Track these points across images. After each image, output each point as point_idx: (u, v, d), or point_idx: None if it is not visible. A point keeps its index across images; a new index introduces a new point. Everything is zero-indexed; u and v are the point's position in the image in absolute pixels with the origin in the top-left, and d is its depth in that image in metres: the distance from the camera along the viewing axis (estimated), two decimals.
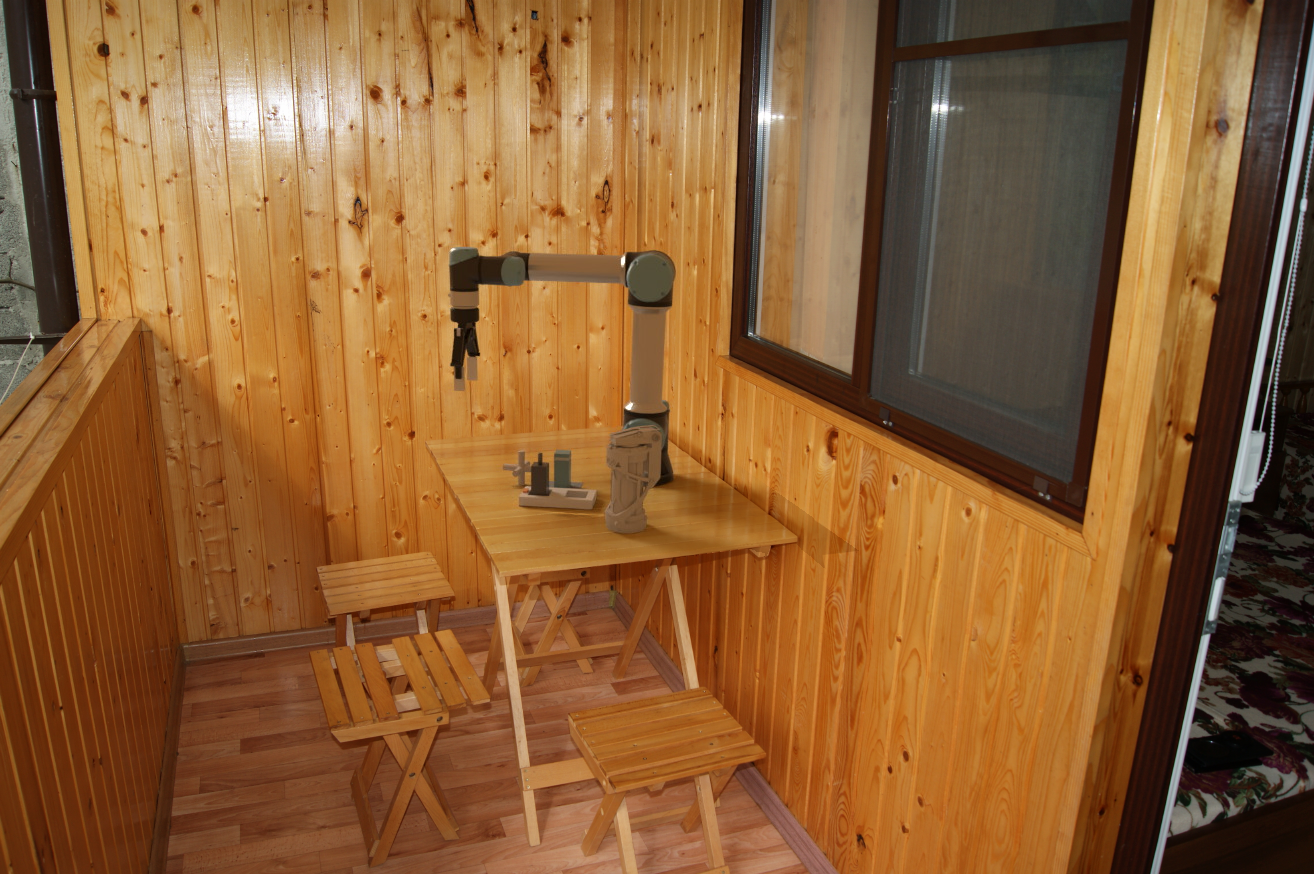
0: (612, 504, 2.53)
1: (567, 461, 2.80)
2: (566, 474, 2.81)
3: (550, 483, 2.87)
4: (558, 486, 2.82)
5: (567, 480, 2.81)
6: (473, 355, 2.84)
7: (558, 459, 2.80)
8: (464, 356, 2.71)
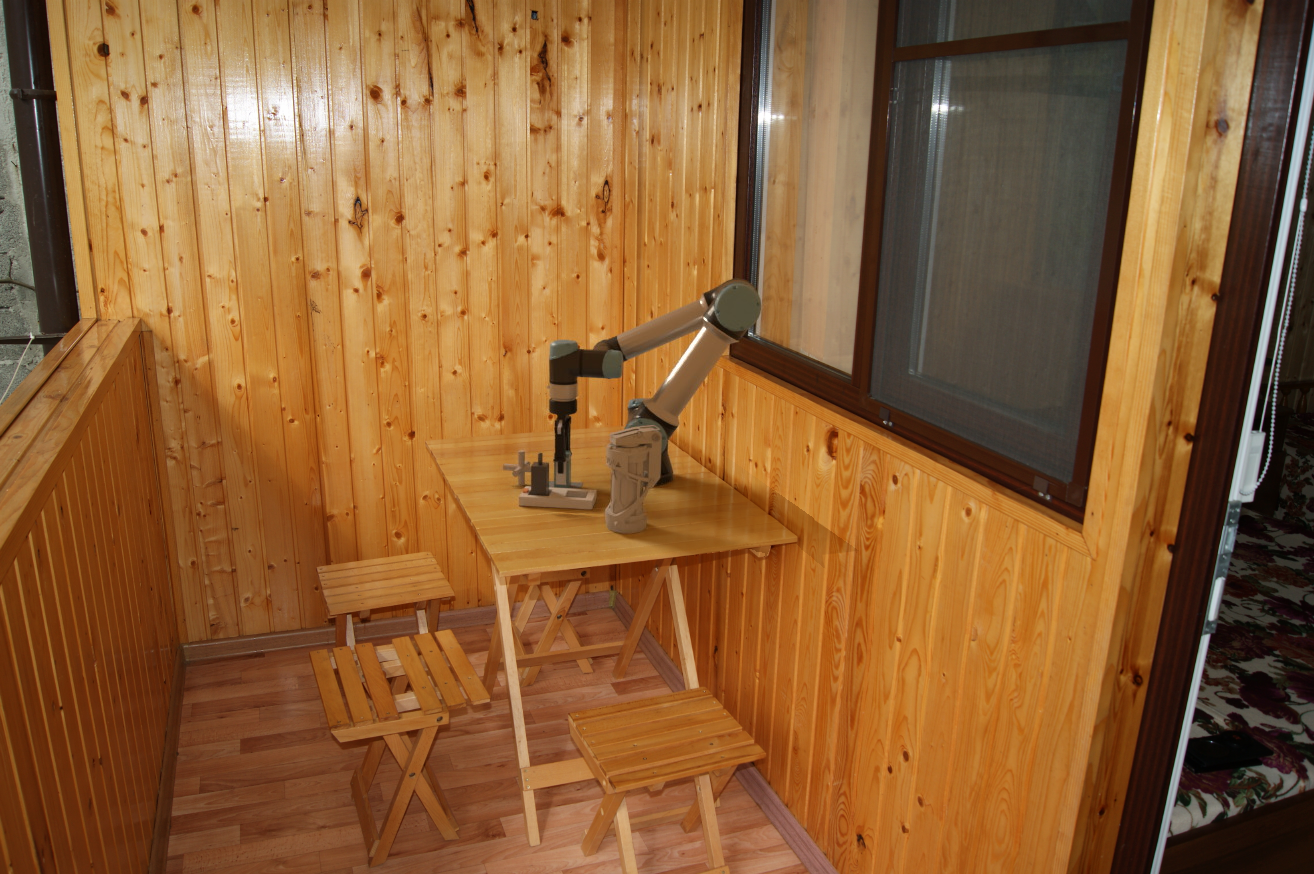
0: (612, 504, 2.53)
1: (567, 461, 2.80)
2: (566, 474, 2.81)
3: (550, 483, 2.87)
4: (558, 486, 2.82)
5: (567, 480, 2.81)
6: None
7: None
8: (565, 450, 2.79)
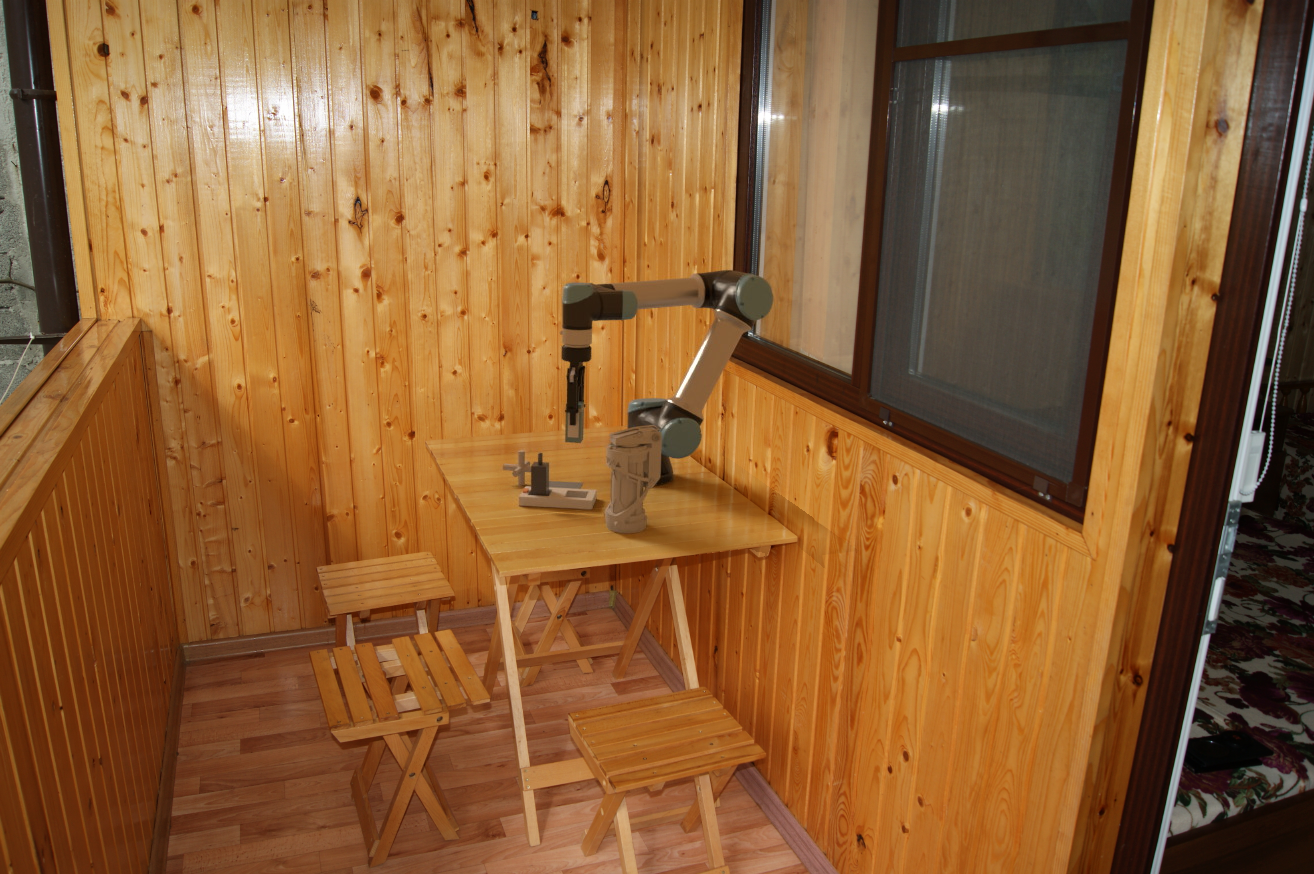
0: (612, 504, 2.53)
1: (579, 412, 2.63)
2: None
3: (550, 483, 2.87)
4: (570, 439, 2.65)
5: (579, 433, 2.65)
6: None
7: None
8: (578, 400, 2.62)
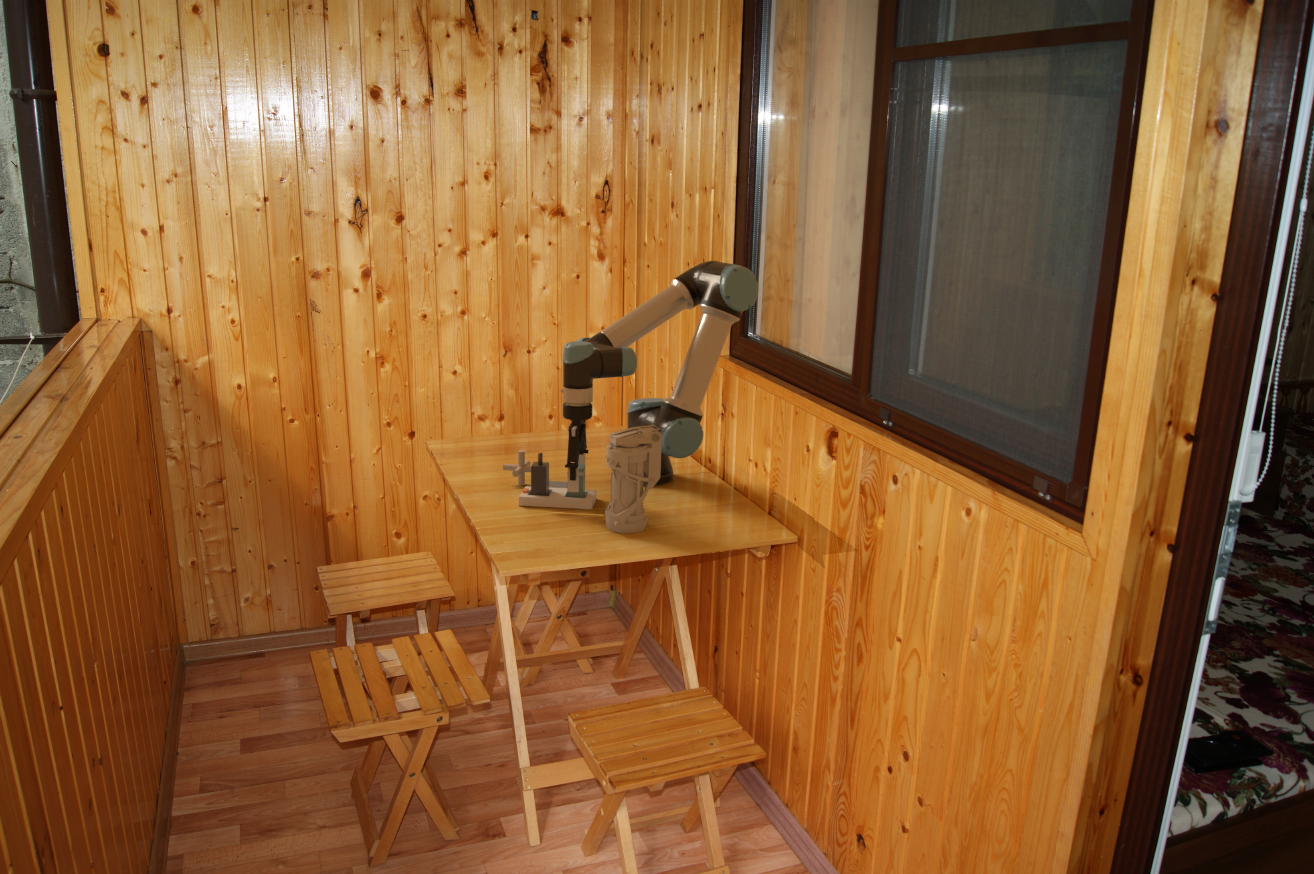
0: (612, 504, 2.53)
1: (581, 476, 2.67)
2: (580, 490, 2.68)
3: (550, 483, 2.87)
4: None
5: (581, 496, 2.68)
6: (581, 452, 2.74)
7: None
8: (578, 456, 2.62)
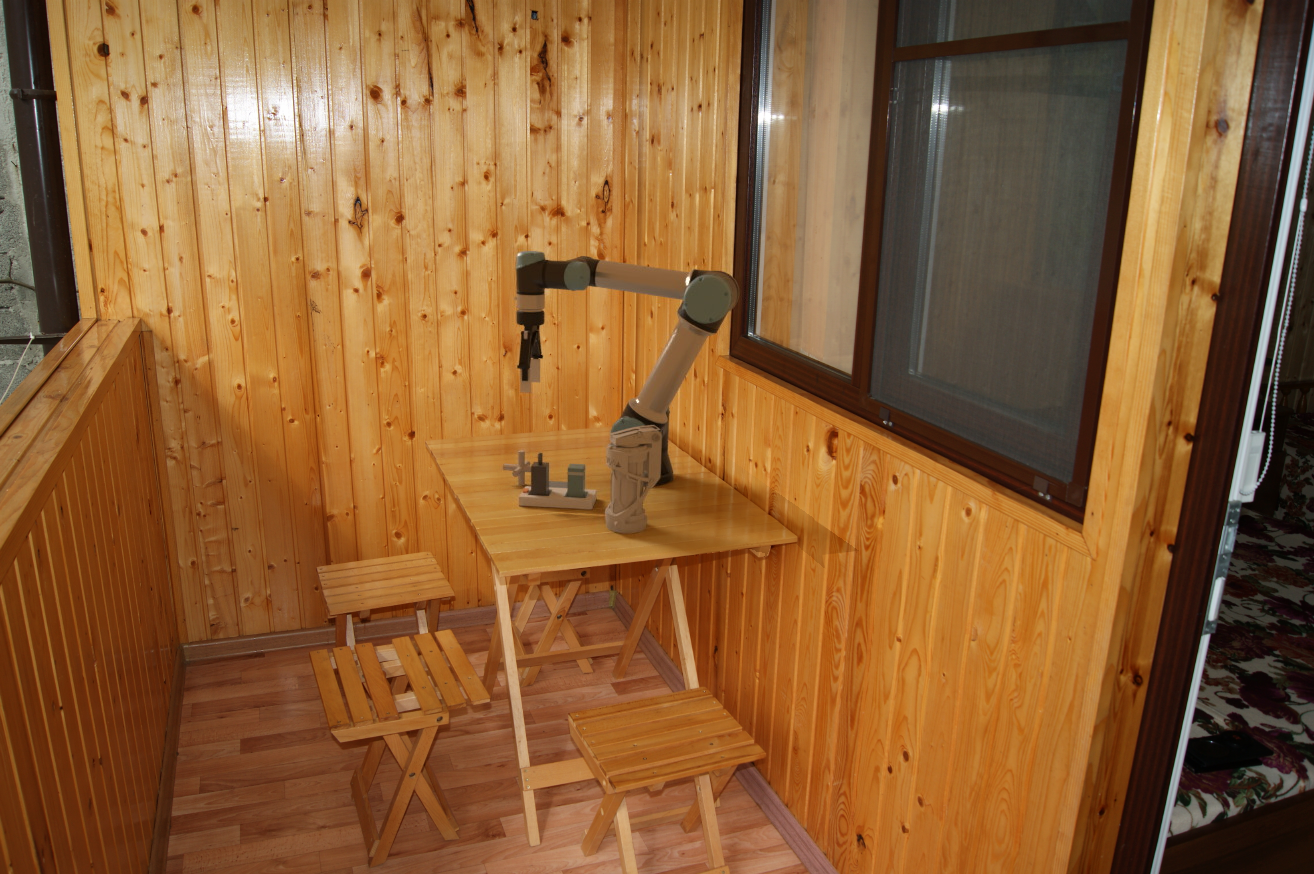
0: (612, 504, 2.53)
1: (581, 476, 2.67)
2: (580, 490, 2.68)
3: (550, 483, 2.87)
4: None
5: (581, 496, 2.68)
6: (536, 357, 2.89)
7: (572, 474, 2.67)
8: (530, 358, 2.76)
